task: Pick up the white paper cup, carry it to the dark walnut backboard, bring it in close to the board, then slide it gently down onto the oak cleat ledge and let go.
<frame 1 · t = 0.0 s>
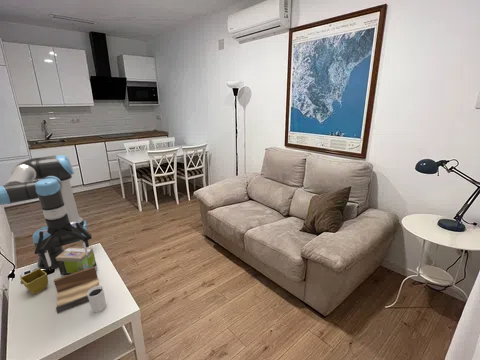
hand: (69, 259, 109), 28 cm above the table, fingers open, 13 cm apart
tea box: (80, 274, 141), on the table
flower pot: (38, 290, 130), on the table
white paper cup: (99, 307, 118), on the table
cleat rack: (79, 295, 126), on the table
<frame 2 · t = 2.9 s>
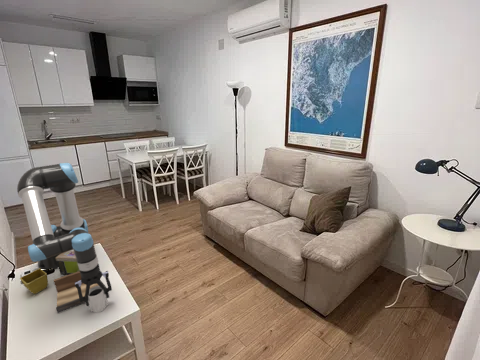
hand: (99, 306, 119), 0 cm above the table, fingers closed on white paper cup, 6 cm apart
white paper cup: (99, 307, 118), on the table, touching gripper
everything else where it was.
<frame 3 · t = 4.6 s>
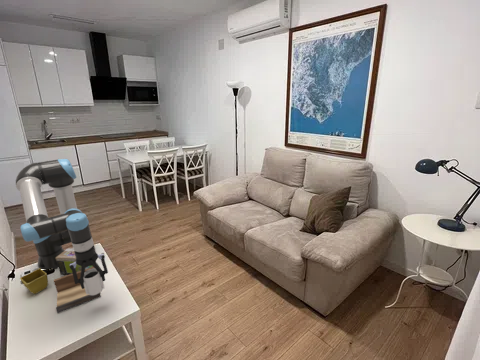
hand: (95, 289, 116), 10 cm above the table, fingers closed on white paper cup, 6 cm apart
white paper cup: (95, 290, 116), point 10 cm above the table, touching gripper
everything else where it was.
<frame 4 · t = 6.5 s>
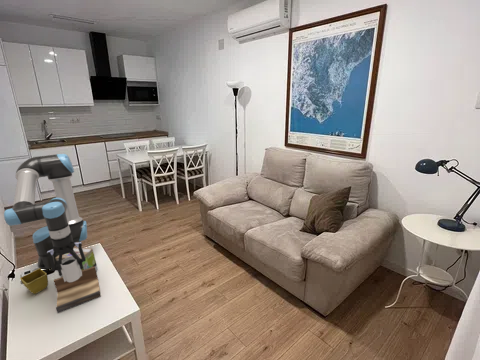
hand: (73, 277, 120), 13 cm above the table, fingers closed on white paper cup, 6 cm apart
white paper cup: (73, 278, 120), point 13 cm above the table, touching gripper
everything else where it was.
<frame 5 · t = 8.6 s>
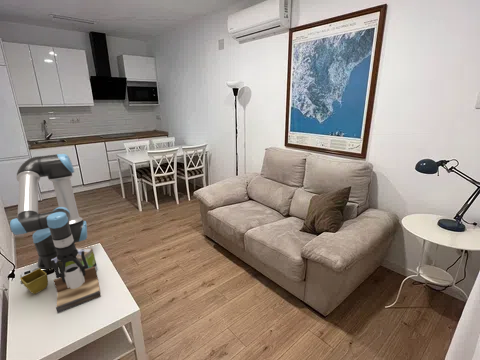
hand: (76, 283, 124), 7 cm above the table, fingers closed on white paper cup, 6 cm apart
white paper cup: (76, 284, 124), point 6 cm above the table, touching gripper
everything else where it was.
when the fingers open (4 cm above the table, at t = 9.7 s): white paper cup drops 1 cm, resting on cleat rack.
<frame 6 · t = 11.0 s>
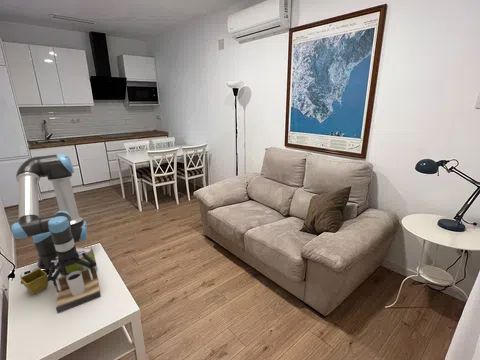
hand: (76, 283, 125), 6 cm above the table, fingers open, 13 cm apart
white paper cup: (78, 291, 126), point 2 cm above the table, touching cleat rack
everything else where it was.
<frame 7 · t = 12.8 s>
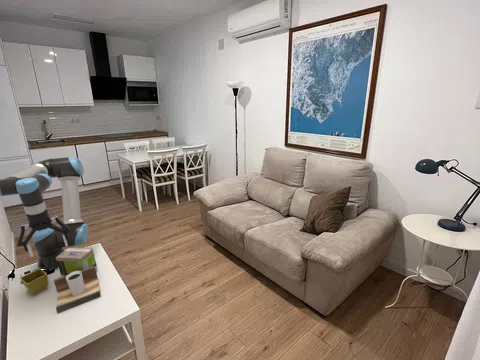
hand: (50, 250, 120), 25 cm above the table, fingers open, 13 cm apart
nothing on the table moved.
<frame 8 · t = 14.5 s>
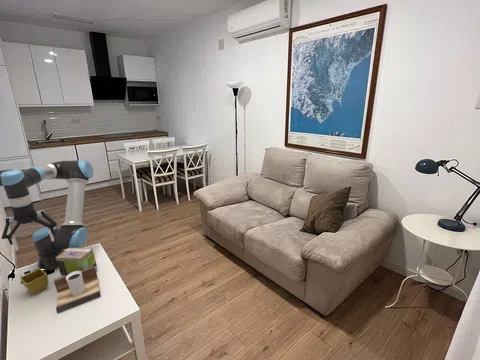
hand: (35, 244, 119), 29 cm above the table, fingers open, 13 cm apart
nothing on the table moved.
at the end: white paper cup touching cleat rack; white paper cup tilted 0° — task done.
